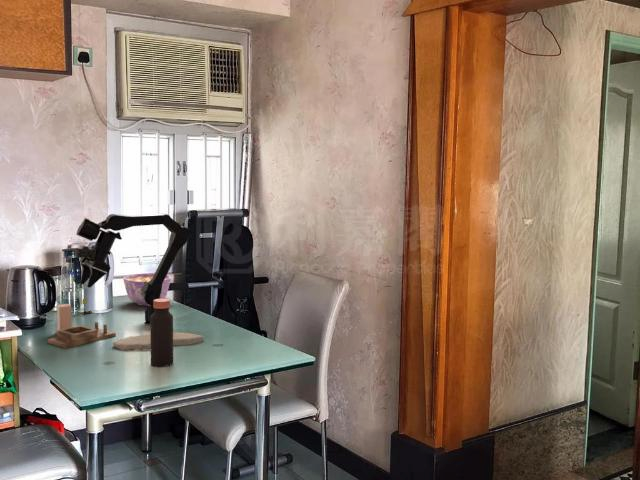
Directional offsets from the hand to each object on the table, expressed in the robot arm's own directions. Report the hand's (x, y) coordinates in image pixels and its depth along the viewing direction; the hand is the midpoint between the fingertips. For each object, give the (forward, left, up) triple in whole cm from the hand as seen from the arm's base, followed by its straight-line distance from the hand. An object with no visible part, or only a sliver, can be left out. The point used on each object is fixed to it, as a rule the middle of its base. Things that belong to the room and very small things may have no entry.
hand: (85, 285), depth 243 cm
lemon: (+11, -27, -17) cm, 34 cm away
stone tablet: (-31, +11, -17) cm, 37 cm away
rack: (-5, +13, -16) cm, 21 cm away
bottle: (-41, +35, -17) cm, 56 cm away
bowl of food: (-6, -47, -17) cm, 50 cm away
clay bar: (+5, +6, -16) cm, 18 cm away
